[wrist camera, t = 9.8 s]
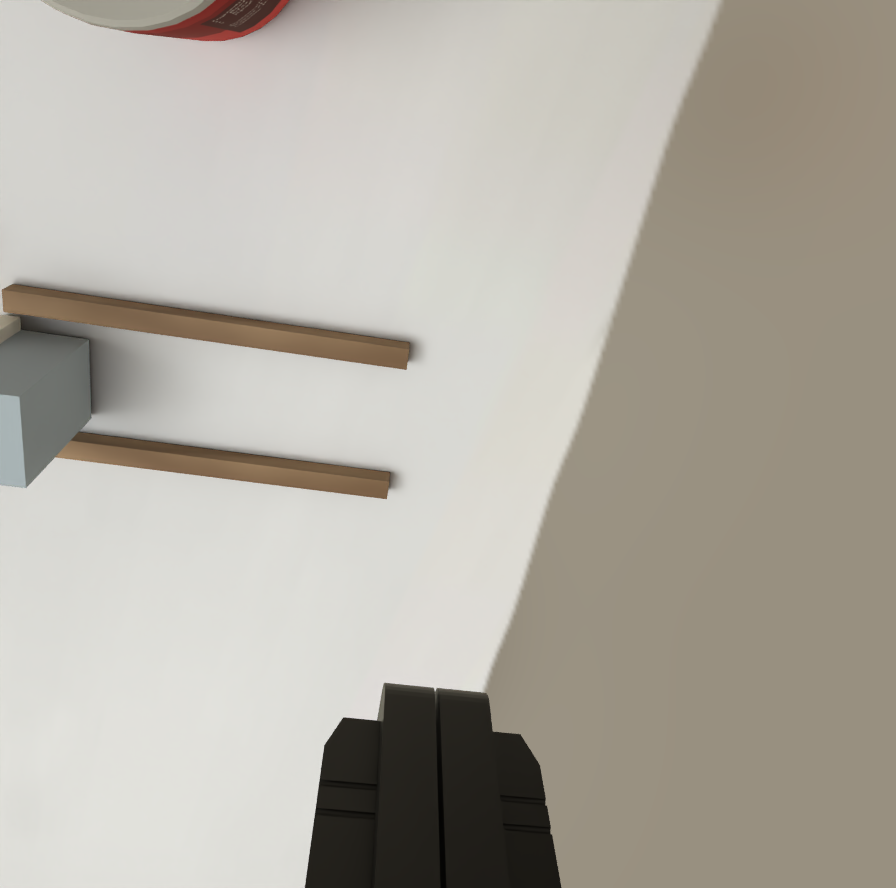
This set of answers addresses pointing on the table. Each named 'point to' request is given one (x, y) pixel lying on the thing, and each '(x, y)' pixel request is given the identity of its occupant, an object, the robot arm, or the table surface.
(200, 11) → the canned food
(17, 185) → the table surface
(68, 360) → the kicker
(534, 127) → the table surface
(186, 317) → the pair of wooden rails
